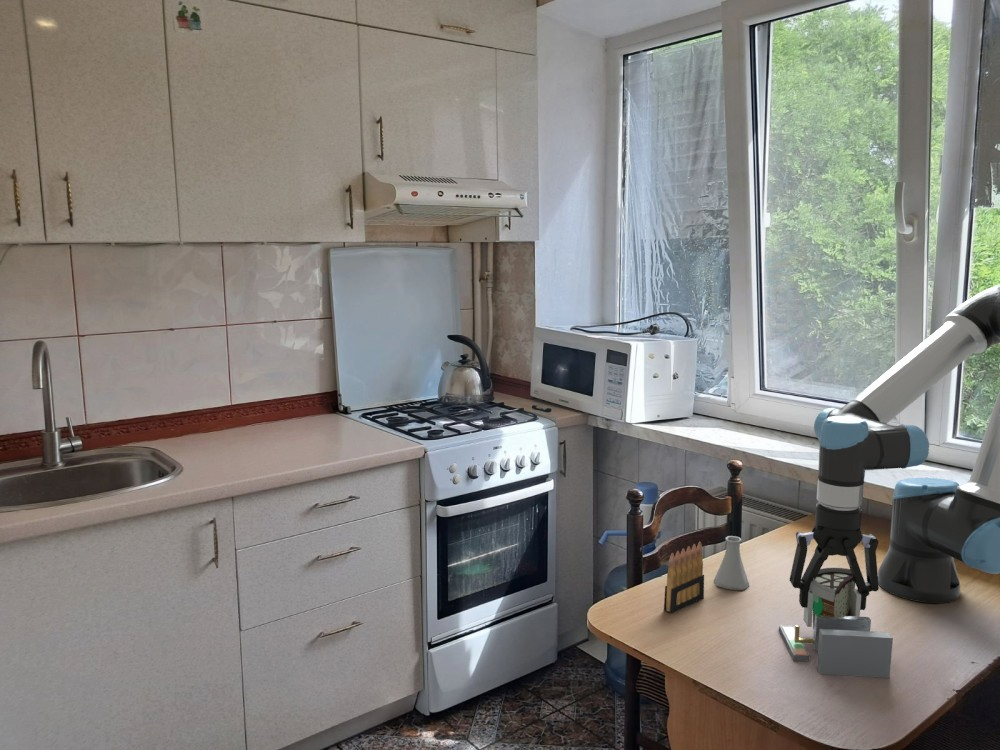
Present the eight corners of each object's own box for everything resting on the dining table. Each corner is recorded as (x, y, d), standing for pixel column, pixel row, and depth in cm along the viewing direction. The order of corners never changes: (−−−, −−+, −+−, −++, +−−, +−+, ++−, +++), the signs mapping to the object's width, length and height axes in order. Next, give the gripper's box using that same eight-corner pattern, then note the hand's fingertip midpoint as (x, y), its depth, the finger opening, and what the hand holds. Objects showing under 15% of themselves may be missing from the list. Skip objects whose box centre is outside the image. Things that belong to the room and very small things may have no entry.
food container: (820, 611, 153) (823, 561, 151) (854, 620, 148) (857, 569, 147) (795, 634, 143) (798, 581, 142) (830, 645, 139) (834, 590, 138)
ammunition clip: (671, 614, 154) (673, 555, 152) (663, 611, 156) (665, 552, 154) (704, 598, 161) (706, 541, 159) (696, 595, 163) (698, 539, 161)
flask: (711, 588, 166) (713, 542, 164) (716, 574, 173) (717, 530, 171) (747, 593, 163) (749, 547, 162) (750, 579, 170) (753, 535, 168)
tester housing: (859, 634, 146) (862, 598, 145) (889, 677, 132) (892, 638, 130) (778, 630, 148) (780, 594, 147) (799, 672, 133) (802, 633, 132)
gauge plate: (866, 649, 140) (868, 617, 139) (868, 652, 139) (871, 620, 138) (793, 645, 141) (795, 613, 140) (795, 648, 140) (797, 616, 139)
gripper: (891, 499, 144) (881, 617, 148) (775, 495, 147) (768, 612, 150) (907, 512, 137) (897, 637, 141) (784, 508, 139) (777, 631, 143)
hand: (830, 624), depth 146 cm, fingers closed on food container, 7 cm apart
